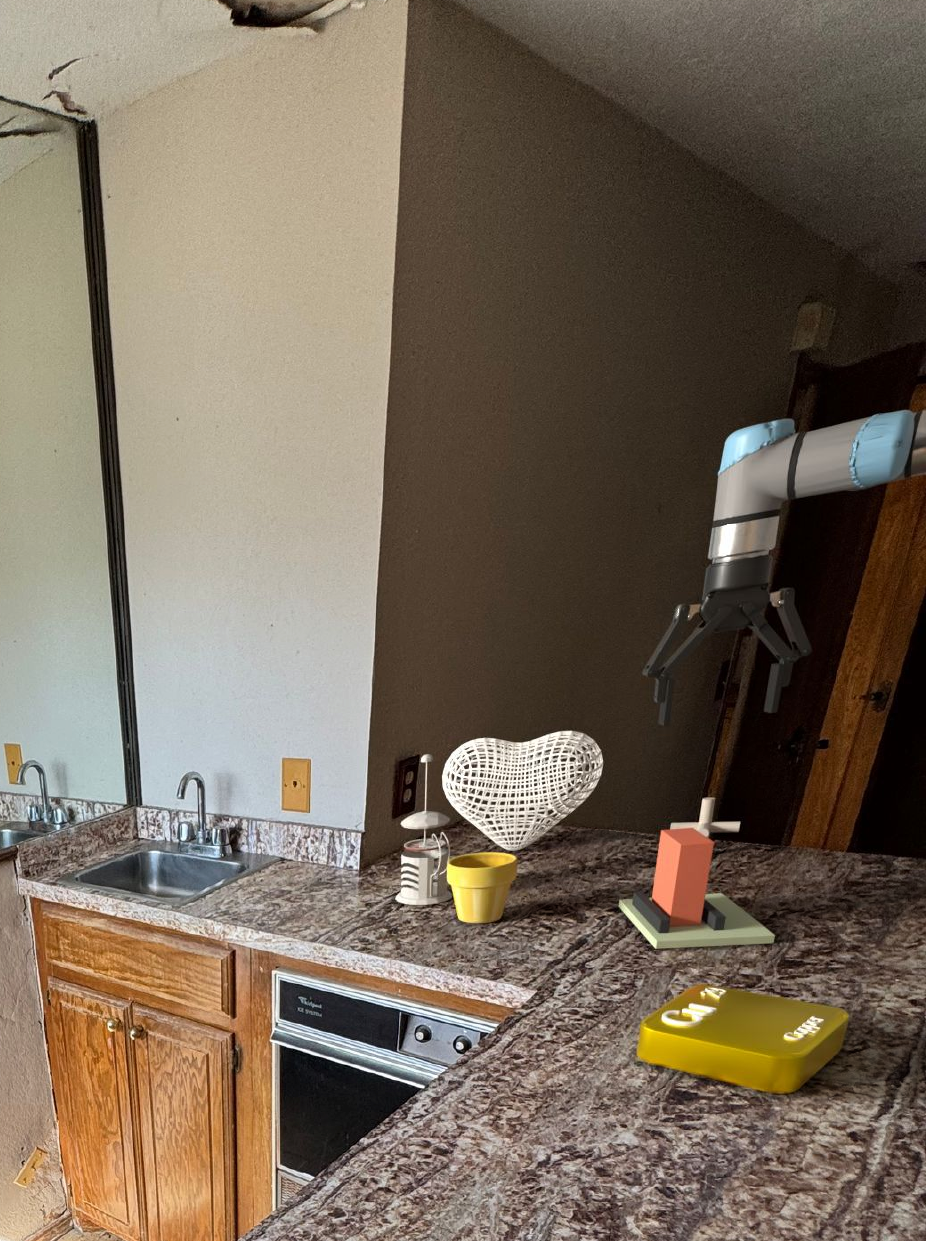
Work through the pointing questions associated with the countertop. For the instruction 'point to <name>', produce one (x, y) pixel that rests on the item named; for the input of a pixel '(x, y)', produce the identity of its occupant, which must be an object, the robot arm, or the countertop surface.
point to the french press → (425, 859)
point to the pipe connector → (708, 821)
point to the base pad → (717, 925)
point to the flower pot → (481, 884)
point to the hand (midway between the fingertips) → (716, 718)
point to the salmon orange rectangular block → (682, 875)
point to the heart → (530, 745)
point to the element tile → (743, 1037)
